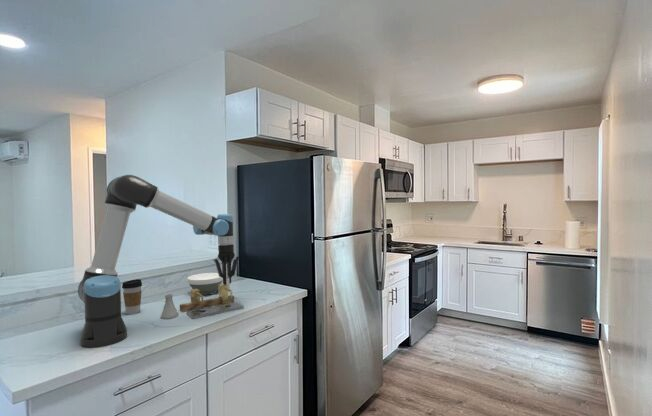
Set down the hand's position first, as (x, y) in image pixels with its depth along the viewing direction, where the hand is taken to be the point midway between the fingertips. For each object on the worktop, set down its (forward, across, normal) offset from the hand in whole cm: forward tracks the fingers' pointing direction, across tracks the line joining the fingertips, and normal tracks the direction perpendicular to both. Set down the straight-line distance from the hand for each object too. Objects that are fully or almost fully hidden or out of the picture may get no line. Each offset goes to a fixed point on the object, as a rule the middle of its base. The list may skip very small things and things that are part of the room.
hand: (227, 290), depth 181 cm
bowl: (+6, -2, +28) cm, 29 cm away
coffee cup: (+7, -41, +14) cm, 44 cm away
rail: (+6, -10, -4) cm, 13 cm away
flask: (+7, -29, -5) cm, 30 cm away
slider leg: (+6, -2, -4) cm, 8 cm away
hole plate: (+6, -10, -11) cm, 16 cm away
